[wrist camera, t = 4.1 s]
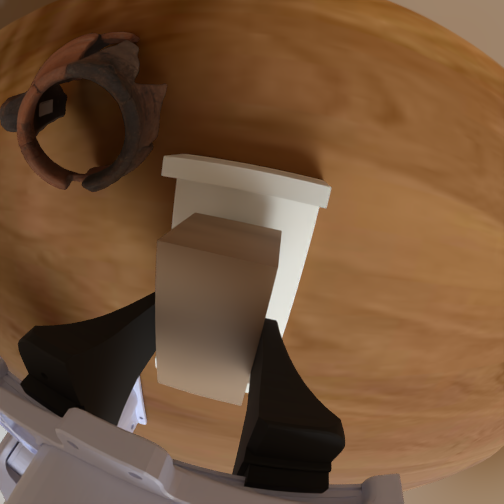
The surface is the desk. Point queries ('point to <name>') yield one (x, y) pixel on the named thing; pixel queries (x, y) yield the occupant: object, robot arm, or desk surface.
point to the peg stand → (253, 210)
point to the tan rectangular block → (212, 303)
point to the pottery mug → (54, 100)
